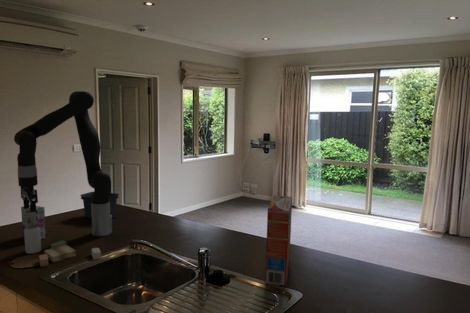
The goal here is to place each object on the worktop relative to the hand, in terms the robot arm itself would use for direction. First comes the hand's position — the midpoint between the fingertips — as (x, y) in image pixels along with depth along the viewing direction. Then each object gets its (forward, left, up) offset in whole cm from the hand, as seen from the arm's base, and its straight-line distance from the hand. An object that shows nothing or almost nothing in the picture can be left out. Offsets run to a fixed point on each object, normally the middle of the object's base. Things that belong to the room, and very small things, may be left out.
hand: (30, 209), depth 166 cm
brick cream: (-17, +25, -19) cm, 36 cm away
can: (0, 0, -20) cm, 20 cm away
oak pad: (-7, +14, -20) cm, 25 cm away
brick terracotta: (+1, +17, -20) cm, 26 cm away
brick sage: (-10, +5, -20) cm, 23 cm away
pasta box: (-64, +94, -20) cm, 115 cm away
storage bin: (-48, -28, -20) cm, 59 cm away
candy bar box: (-7, -18, -20) cm, 28 cm away
